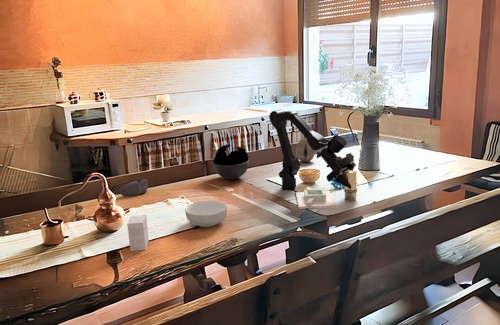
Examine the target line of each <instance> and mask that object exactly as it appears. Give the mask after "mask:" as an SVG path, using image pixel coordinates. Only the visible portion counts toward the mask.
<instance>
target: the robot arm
mask: <svg viewBox="0 0 500 325" xmlns="http://www.w3.org/2000/svg"><path fill="white" fill-rule="evenodd" d="M268 118H269V121H270V124H271V126H272V127H273V128H274V129H275V130H276V134H277V138H278V142H279V146H280V149H281V153H282V157H283V159H282V164H281V165H282V169H281V170H280V171H279V173H278V177H279V178H281V190H282V191H283V190H284V191H290V190H291V191H292V190H296V188H297V178H296V177H295V176H297V174H298V173H299V171H300V170H301V163H300V160H299V158H297V157H295V155H294V152H293V149H292V146H291V142H290V138H289V134H288V130H287V123H288V122H287V121H290V122H291V123H292V125H293V126H295V128H296V129H297V130H298V131H299V132H300V133H301V134H302V136H304V138H306V139H307V142H308V144H309V146H310V147H311V148H312V149H313V150H315V151H316V159H319V158H321V159H323V161H324V162H325V163H326V164H327V165H326V167H327V168H329V169H330V170H331V171H330V172H329V173H328V174H327V175H326V180H327V182H328V183H331V182H332V180H333V178H334V177H335V180H334V182H337V183H340V184H342V185H341V186H343V185H344V186H346V187H348V188H351V185H350V183H349V182H348V180H347V179H346V178H345V171H354V169H355V167H356V166H357V164H356V163H355V159H354V158H355V156H354V155H353V154H352V153H351V152H349V153H347V154H345V156H344V157H341V156H340V155H339V156H338V155H337V154H339V153H340V152H341V151H342V150H343V149H344V148H345V147H347V145H348V142H347V140H346V139H345V138H344V137H343V136H341V135H339V134H338V133H336V134H334V135H333V136H332V138H331V139H327V138H326V137H324V135H322V134H320V133H319V132H317V131H314V129H313V128H312V127H311V126H310V125H309V124H308V123H307V122H306V121H305V120H304V119H303V118H302V117H301V115H299V113H298V112H297V111H295V110H293V111H285V110H283V109H276V110H272V111H271V112H270V113H269V117H268ZM319 150H320V151H319ZM334 182H333V183H334ZM356 185H358V183H357V182H356Z"/></svg>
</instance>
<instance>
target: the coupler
mask: <svg viewBox="0 0 500 325" xmlns="http://www.w3.org/2000/svg"><path fill="white" fill-rule="evenodd" d="M357 174H358V173H357V171H355V170H353V171H345V178H346V179H347V180H348V182H349V183H350V185H351V188H348V187H346V186H345V188H343V190H344V200H345V202H355V201H357V192H358V188H357V184H356V183H357Z"/></svg>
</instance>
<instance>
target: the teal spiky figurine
mask: <svg viewBox="0 0 500 325" xmlns="http://www.w3.org/2000/svg"><path fill="white" fill-rule="evenodd" d="M334 180H335V177H334V178H333V180H332V181H331V182H330V185H331V186H334V188H335V189H337V188H338V189H339V190H342V189H344V188H345V186H344V185H342V184H340V183H337V182H334Z"/></svg>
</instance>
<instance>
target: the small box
mask: <svg viewBox="0 0 500 325" xmlns="http://www.w3.org/2000/svg"><path fill="white" fill-rule="evenodd" d="M147 220H148V219H147V214H141V215H139V214H138V215H131V216H130V217H129V220H128V222H127V224H126V225H127V233H128V240H129V246H130V247H129V250H130V252H136V251H146V250H147V249H148V244H149V240H150V239H149V230H148V229H149V228H148V221H147Z"/></svg>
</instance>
